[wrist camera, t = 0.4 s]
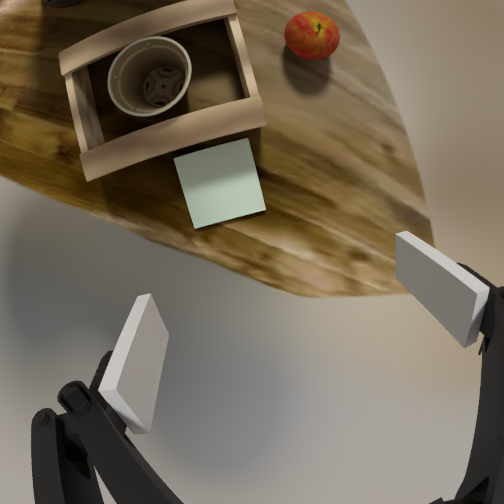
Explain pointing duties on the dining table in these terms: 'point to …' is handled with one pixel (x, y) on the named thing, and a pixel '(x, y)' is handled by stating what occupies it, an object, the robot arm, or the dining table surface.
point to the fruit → (312, 35)
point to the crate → (170, 131)
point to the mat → (220, 183)
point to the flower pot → (149, 76)
